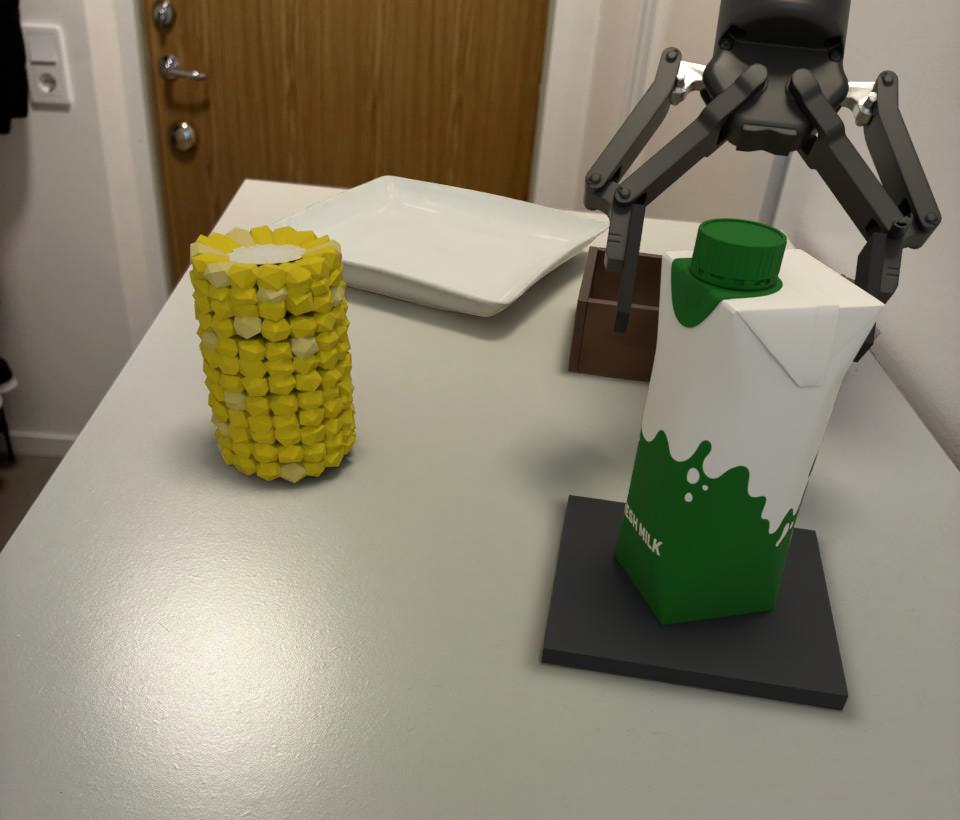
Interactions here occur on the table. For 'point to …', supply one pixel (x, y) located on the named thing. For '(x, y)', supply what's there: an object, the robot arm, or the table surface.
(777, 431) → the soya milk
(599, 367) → the crate
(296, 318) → the food
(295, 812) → the table surface
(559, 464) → the table surface
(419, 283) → the square plate
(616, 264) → the robot arm
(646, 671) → the mat
